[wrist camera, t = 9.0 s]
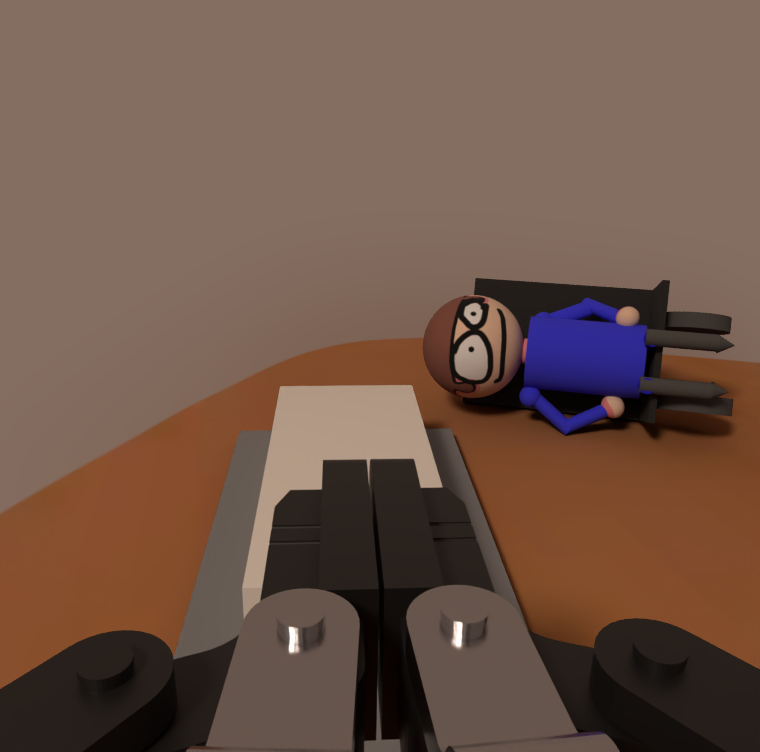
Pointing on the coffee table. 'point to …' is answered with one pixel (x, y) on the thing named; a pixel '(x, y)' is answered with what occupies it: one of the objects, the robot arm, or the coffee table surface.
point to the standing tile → (332, 449)
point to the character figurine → (571, 351)
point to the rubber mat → (234, 533)
